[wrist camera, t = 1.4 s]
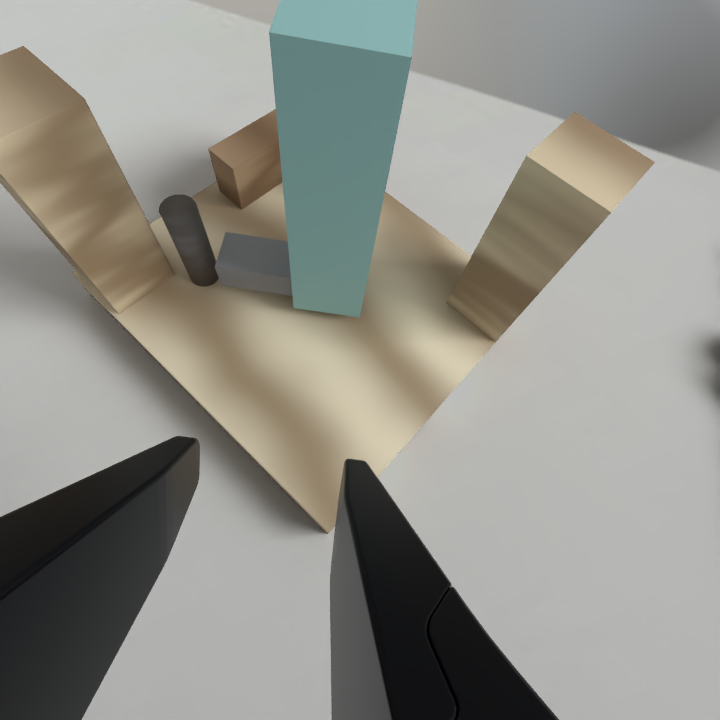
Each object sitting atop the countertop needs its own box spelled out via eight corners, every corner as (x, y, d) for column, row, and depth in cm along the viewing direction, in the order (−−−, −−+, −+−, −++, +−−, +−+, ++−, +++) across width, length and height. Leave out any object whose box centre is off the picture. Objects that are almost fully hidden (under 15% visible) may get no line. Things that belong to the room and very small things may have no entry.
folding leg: (218, 296, 22) (105, 3, 10) (234, 243, 23) (151, -69, 11) (359, 317, 22) (411, 57, 10) (366, 263, 24) (419, -20, 12)
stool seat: (327, 534, 20) (342, 521, 9) (90, 293, 24) (-94, 87, 13) (516, 318, 26) (657, 158, 16) (302, 153, 30) (295, -67, 19)
